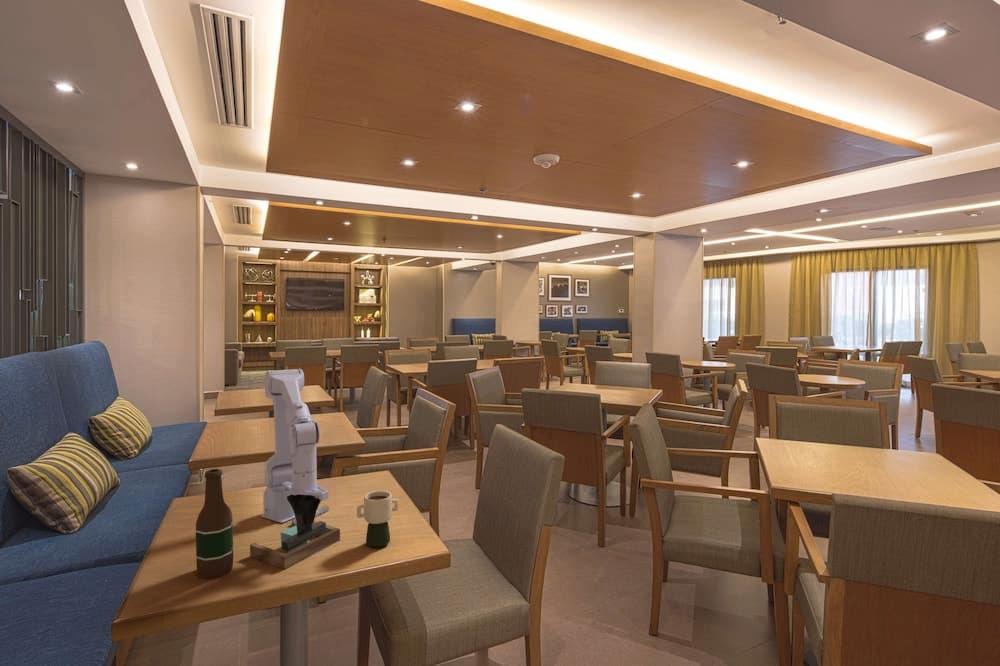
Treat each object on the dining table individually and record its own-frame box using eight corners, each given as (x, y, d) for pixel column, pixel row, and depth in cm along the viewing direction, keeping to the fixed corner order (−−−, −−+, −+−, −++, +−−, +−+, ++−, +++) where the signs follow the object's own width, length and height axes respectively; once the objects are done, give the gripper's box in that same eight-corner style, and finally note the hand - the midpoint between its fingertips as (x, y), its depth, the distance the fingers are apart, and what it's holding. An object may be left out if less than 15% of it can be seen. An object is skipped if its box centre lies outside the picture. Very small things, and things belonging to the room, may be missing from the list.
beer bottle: (209, 562, 124) (207, 465, 123) (240, 563, 124) (238, 465, 123) (188, 579, 116) (186, 475, 115) (222, 580, 116) (220, 476, 115)
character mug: (394, 534, 140) (393, 487, 139) (402, 544, 134) (402, 496, 133) (353, 542, 135) (353, 494, 134) (360, 554, 129) (360, 503, 128)
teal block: (281, 549, 131) (280, 532, 131) (295, 542, 135) (295, 525, 135) (293, 553, 129) (293, 536, 129) (307, 546, 133) (307, 529, 133)
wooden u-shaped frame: (250, 556, 127) (249, 544, 127) (306, 529, 142) (306, 519, 142) (285, 569, 121) (284, 557, 121) (340, 540, 136) (339, 529, 136)
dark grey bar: (281, 549, 125) (280, 521, 124) (319, 527, 136) (318, 502, 135) (288, 551, 124) (287, 523, 123) (326, 529, 134) (325, 504, 134)
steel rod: (297, 525, 144) (295, 518, 145) (292, 527, 145) (290, 520, 146) (329, 510, 155) (327, 504, 155) (325, 512, 156) (323, 505, 156)
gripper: (271, 469, 129) (272, 522, 130) (312, 479, 122) (313, 535, 123) (294, 462, 135) (295, 512, 136) (334, 471, 128) (335, 524, 129)
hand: (305, 522), depth 130 cm, fingers closed on dark grey bar, 2 cm apart
